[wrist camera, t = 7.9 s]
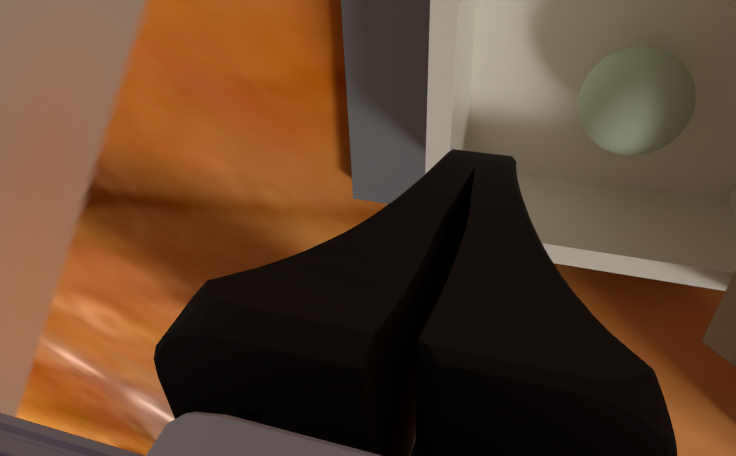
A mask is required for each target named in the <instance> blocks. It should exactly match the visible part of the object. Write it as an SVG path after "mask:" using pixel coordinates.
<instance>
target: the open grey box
mask: <svg viewBox="0 0 736 456" xmlns="http://www.w3.org/2000/svg"><path fill="white" fill-rule="evenodd" d="M637 46H647V47H655V48H659V49H662V50H665V51H667V52H669V53H671V54H673V55H674V56H675V57H677V58H678V59H679V60H680V61H682V62H683V64H684V65H685V66H686V67H687V69H688V70H689V72H690V74H691V76H692V78H693V81H694V85H695V90H696V101H695V107H694V111H693V114H692V116H691V119H690V121H689V122H688V124H687V126H686V127H685V129H684V130H683V131H682V133H681V134H680V135H679V136H678V137H677V138H676V139H674V140H673V141H672V142H671V143H669V144H668V145H666V146H664V147H663V148H661V149H659V150H656V151H653V152H651V153H647V154H642V155H622V154H617V153H614V152H611V151H608V150H606V149H604V148H602V147H601V146H599V145H598V144H597V143H595V142H594V141H593V140H592V139H591V138H590V137H589V135H588V134H587V133H586V131H585V129H584V127H583V125H582V123H581V120H580V117H579V110H578V101H579V95H580V91H581V88H582V85H583V83H584V81H585V79H586V78H587V76H588V74H589V73H590V72H591V70H592V69H593V68H594V67H595V66H596V65H597V64H598V63H599V62H600V61H602V60H603V59H604V58H606V57H607V56H609V55H611V54H613V53H615V52H617V51H619V50H622V49H625V48H630V47H637ZM452 149H456V150H464V151H473V152H481V153H490V154H498V155H507V156H512V157H513V158H514V159H515V161H516V162H517V163H516V172H517V178H518V183H519V187H520V191H521V194H522V197H523V200H524V203H525V206H526V209H527V211H528V214H529V217H530V219H531V221H532V224H533V226H534V228H535V230H536V232H537V234H538V237H539V239H540V241H541V243H542V244H543V246H544V248H545V250H546V252H547V254H548V255H549V257H550V259H551V260H552V262H553V263H556V264H562V265H568V266H574V267H581V268H587V269H593V270H599V271H605V272H611V273H617V274H624V275H630V276H636V277H642V278H648V279H654V280H660V281H667V282H673V283H679V284H685V285H691V286H697V287H704V288H710V289H716V290H722V291H726V289H727V287H728V285H729V283H730V281H731V279H732V277H733V275H734V273H735V271H736V0H430V24H429V59H428V93H427V128H426V162H425V174H426V173H427V172H428V171H429V170H430V169H431V168H432V167H433V166H434V165H435V164H436V163H437V162H438V161H439V160H441V159H442V158H443V157H444V156H445V155H446V154H447V153H448V152H449V151H451V150H452Z"/></svg>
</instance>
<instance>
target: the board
mask: <svg viewBox="0 0 736 456" xmlns="http://www.w3.org/2000/svg"><path fill="white" fill-rule="evenodd" d="M341 12H342V28H343V44H344V59H345V75H346V91H347V107H348V122H349V138H350V154H351V170H352V185H353V198H354V199H361V200H367V201H374V202H381V203H388V204H390V203H391V202H392V201H394V200H395V199H396V198H398V197H399V196H400V195H401V194H403V193H404V192H405V191H406V190H407V189H409V188H410V187H411V186H412V185H413V184H414V183H416V182H417V181H418V180H419V179H420V178H421V177H422V176H424V175H425V162H426V128H427V93H428V59H429V24H430V0H341Z"/></svg>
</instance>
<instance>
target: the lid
mask: <svg viewBox="0 0 736 456" xmlns="http://www.w3.org/2000/svg"><path fill="white" fill-rule="evenodd" d="M702 342H703V343H704V344H706V345H707V346H708V347H710V348H711V349H712V350H714V351H715V352H716V353H718V354H719V355H720V356H721V357H723V358H724V359H725V360H727V361H728V362H729V363H731V364H732V365H733V366H735V367H736V271H735V273H734V275H733V277H732V279H731V281H730V283H729V285H728V287H727V289H726V291H725V293H724V295H723V298H722V300H721V302H720V304H719V306H718V308H717V310H716V312H715V314H714V316H713V318H712V320H711V322H710V324H709V326H708V328H707V330H706V333H705V335H704V337H703V339H702Z"/></svg>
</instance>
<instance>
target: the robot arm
mask: <svg viewBox="0 0 736 456" xmlns="http://www.w3.org/2000/svg"><path fill="white" fill-rule="evenodd" d="M516 163H517V162H516V161H515V159H514V158H513V157H512V156H507V155H498V154H490V153H481V152H473V151H464V150H456V149H452V150H451V151H449V152H448V153H447V154H446V155H445V156H444V157H443V158H442V159H441V160H439V161H438V162H437V163H436V164H435V165H434V166H433V167H432V168H431V169H430V170H429V171H428V172H427V173H426V174H425V175H424V176H422V177H421V178H420V179H419V180H418V181H417V182H416V183H414V184H413V185H412V186H411V187H410V188H409V189H407V190H406V191H405V192H404V193H403V194H401V195H400V196H399V197H398V198H396V199H395V200H394V201H392V202H391V203H390V204H388V205H387V206H386V207H384V208H383V209H382V210H380V211H379V212H377V213H376V214H375V215H373V216H372V217H370V218H369V219H367V220H365V221H364V222H362V223H360V224H359V225H357V226H355V227H353V228H352V229H350V230H348V231H346V232H345V233H343V234H341V235H339V236H336V237H334V238H332V239H330V240H328V241H326V242H324V243H322V244H319V245H317V246H315V247H313V248H311V249H309V250H306V251H304V252H301V253H299V254H296V255H293V256H291V257H288V258H286V259H283V260H280V261H277V262H274V263H271V264H268V265H265V266H261V267H258V268H255V269H251V270H247V271H243V272H239V273H236V274H232V275H228V276H224V277H220V278H216V279H211V280H207V281H206V283H205V284H204V285H203V286H202V287H201V288H200V289H199V291H198V292H197V293H196V294H195V295H194V296H193V297H192V299H191V300H190V301H189V303H188V304H187V305H186V307H185V308H184V309H183V311H182V312H181V313H180V315H179V316H178V317H177V319H176V320H175V321H174V323H173V324H172V325H171V327H170V328H169V329H168V331H167V332H166V333H165V335H164V336H163V337H162V339H161V340H160V341H159V343H158V344H157V345H156V348H155V354H154V362H155V366H156V370H157V374H158V378H159V380H160V383H161V385H162V388H163V390H164V393H165V395H166V397H167V400H168V402H169V405H170V407H171V410H172V412H173V415H174V417H175V420H173V421H171V422H169V423H168V424H167V425H166V426H165V428H164V429H163V431H162V432H161V434H160V435H159V437H158V438H157V440H156V441H155V443H154V444H153V446H152V447H151V449H150V450H149V452H148V454H147V455H146V456H677V447H676V441H675V435H674V431H673V427H672V423H671V420H670V416H669V413H668V409H667V406H666V403H665V399H664V397H663V394H662V391H661V388H660V385H659V383H658V380H657V377H656V375H655V372H654V371H653V369H652V368H651V367H650V366H648V365H647V364H646V363H645V362H644V361H643V360H641V359H640V358H639V357H638V356H637V355H636V354H634V353H633V352H632V351H631V350H630V349H628V348H627V347H626V346H625V345H624V344H623V343H621V342H620V341H619V340H618V339H617V338H616V337H614V336H613V335H612V334H611V333H610V332H609V331H608V330H607V329H606V328H605V327H604V326H603V325H602V324H601V323H600V322H599V321H598V320H597V319H596V318H595V317H594V316H593V315H592V313H591V312H590V311H589V310H588V309H587V307H586V306H585V305H584V304H583V303H582V301H581V300H580V299H579V298H578V297H577V296H576V294H575V293H574V292H573V291H572V290H571V288H570V287H569V286H568V284H567V283H566V281H565V280H564V278H563V277H562V276H561V274H560V273H559V271H558V270H557V268H556V267H555V265H554V263H553V262H552V260H551V259H550V257H549V255H548V254H547V252H546V250H545V248H544V246H543V244H542V243H541V241H540V239H539V237H538V234H537V232H536V230H535V228H534V226H533V224H532V221H531V219H530V217H529V214H528V211H527V209H526V206H525V203H524V200H523V197H522V194H521V191H520V187H519V183H518V178H517V172H516ZM0 456H145V455H141V454H138V453H135V452H131V451H128V450H124V449H121V448H118V447H114V446H111V445H107V444H104V443H101V442H97V441H94V440H91V439H87V438H84V437H80V436H77V435H74V434H70V433H67V432H63V431H60V430H57V429H53V428H50V427H47V426H43V425H40V424H36V423H33V422H30V421H26V420H23V419H19V418H16V417H12V416H9V415H6V414H2V413H0Z"/></svg>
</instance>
